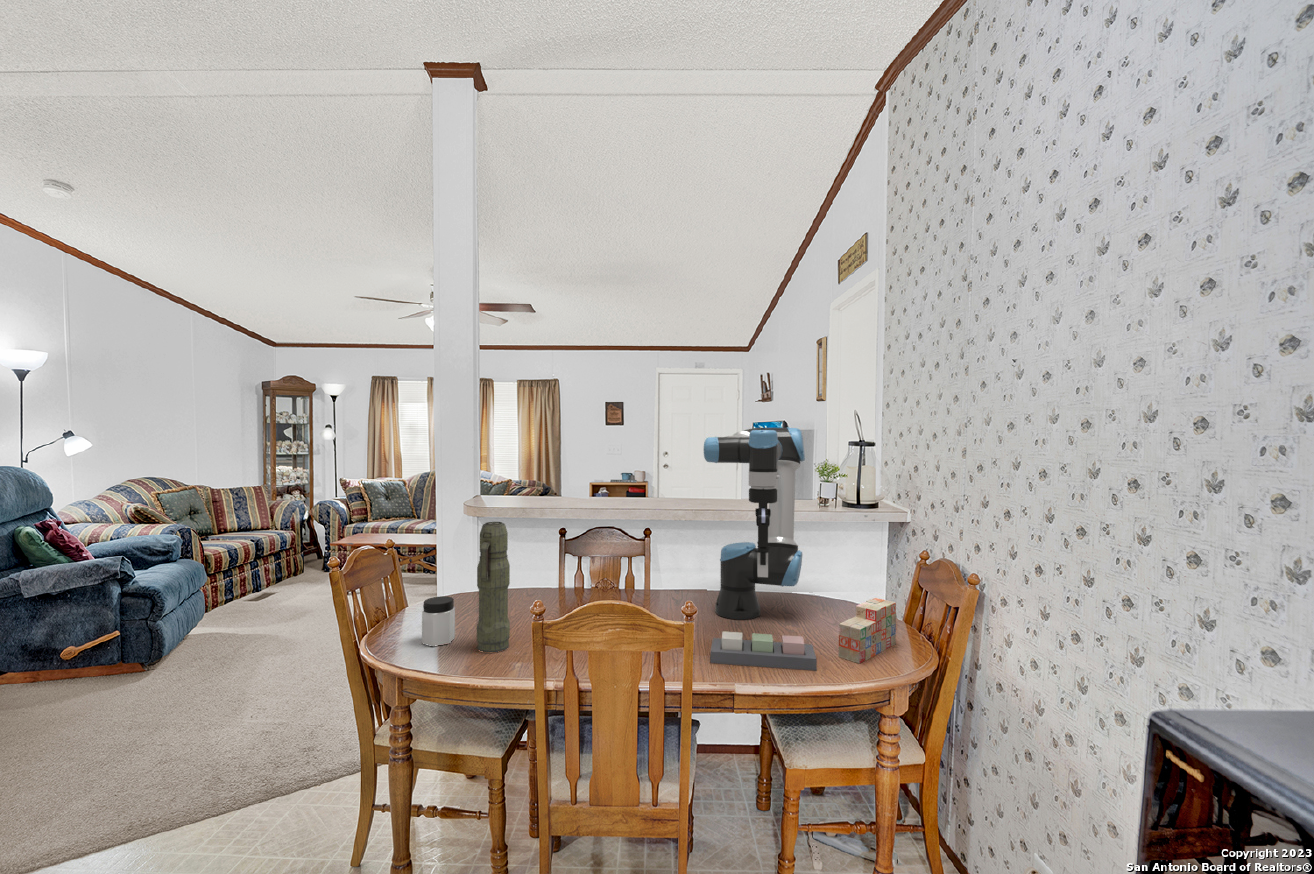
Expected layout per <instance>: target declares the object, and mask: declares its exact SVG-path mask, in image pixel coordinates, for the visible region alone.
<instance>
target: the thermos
mask: <svg viewBox="0 0 1314 874" xmlns="http://www.w3.org/2000/svg"><path fill="white" fill-rule="evenodd" d="M506 527H507V526H506V523H503V522H501V521H487V522H485V523H483V524H482V526H481V530H480V532H479V561H478V564H477V566H476V567H477V568H476V586H477V589H478V622H477V624H476V642H477V646H476V650H477V649H478V650H480V651H483V652H497V653H499V652H498V651H501V652H503V651H502V650H504V651H505V650H508V649H507V648H509V647H510V637H511V636H510V635H511V634H510V633H511V632H510V629H511V628H510V627H511V626H510V619H509V616H508V615H509V610H508V609H509V599H508V598H509V591H508V590H509V586H510V584H511V582H510V581H511V580H510V576H511V575H510V571H511V570H510V567H511V566H510V565H511V564H510V561H509V558H508V553H507V552H508V539H509V538H508V530H507V528H506ZM478 650H477V651H478Z"/></svg>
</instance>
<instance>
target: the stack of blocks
mask: <svg viewBox="0 0 1314 874" xmlns="http://www.w3.org/2000/svg"><path fill="white" fill-rule="evenodd" d="M896 623H897V602H895V601H891V600H887V599H882V598H878V597H875V598H872V599H868V600H866V601H863V602H860V603H859V604H857V605H855V616H854V617H852V618H849V619H847V620H844V621H843V622H840V623H839V627H838V628H839V631H838V657H839V658H841V659H844V660H848V661H851V662H853V663H857V664H861V663H863V662H865V661H867V660H869V659H871V658H873V657H875V656H877V655H878V654H880V653H881V651H882V652H883V651H886V650H888V649H889V648H891V647H892V646H895V645H896V644H897V632H896V631H897V630H896V629H897V628H896V627H897V624H896Z"/></svg>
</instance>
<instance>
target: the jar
mask: <svg viewBox="0 0 1314 874" xmlns="http://www.w3.org/2000/svg"><path fill="white" fill-rule="evenodd" d="M454 600H455V599H454V598H453V597H452V596H446V595H445V596H443V595H441V596H433V597H429V598H427V599H425V600H424V601H423V607H422V608H423V610H422V612H421V644H422V643H424V644H428V645H431V646H435V645H441V644H445V643H450V644H451V643H452V642H453V641H454V640H453V639H454V638H456V606H454V604H455V603H454V602H455V601H454ZM452 640H453V641H452ZM451 641H452V642H451Z"/></svg>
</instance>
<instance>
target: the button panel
mask: <svg viewBox="0 0 1314 874" xmlns="http://www.w3.org/2000/svg"><path fill="white" fill-rule="evenodd" d="M710 646H711V647H710V653H709V654H710V656H709V657H710V662H709V663H710V664H723V665H733V666H735V665H736V666H748V667H762V668H772V669H773V668H775V669H776V668H777V669H788V670H790V669H791V670H803V671H814V672H815V671H816V672H817V669H818V667H817V656H816V652H815V650H814V649H815V648H814V646H813V643H810V644H809V643H804V655H796V654H782V641H773V653H767V652H752V639H742V651H738V650H723V649H722V637H721V638H720V637H712V641H711V645H710Z"/></svg>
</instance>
